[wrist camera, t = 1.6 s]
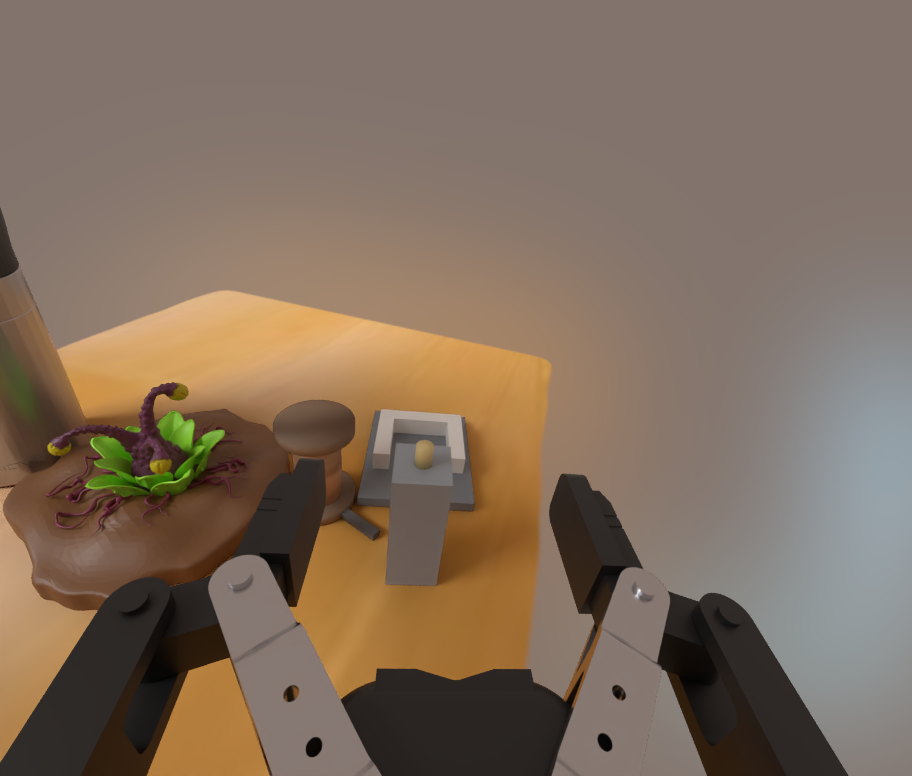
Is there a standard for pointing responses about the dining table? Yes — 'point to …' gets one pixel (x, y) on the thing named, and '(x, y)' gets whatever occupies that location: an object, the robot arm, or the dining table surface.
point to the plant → (142, 501)
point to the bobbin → (324, 453)
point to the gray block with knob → (418, 512)
